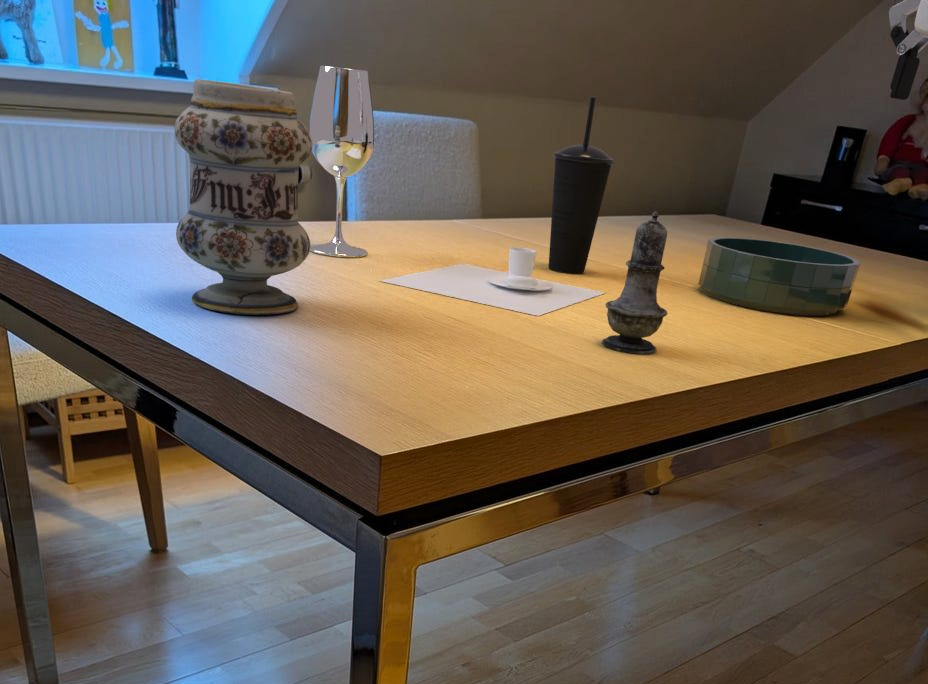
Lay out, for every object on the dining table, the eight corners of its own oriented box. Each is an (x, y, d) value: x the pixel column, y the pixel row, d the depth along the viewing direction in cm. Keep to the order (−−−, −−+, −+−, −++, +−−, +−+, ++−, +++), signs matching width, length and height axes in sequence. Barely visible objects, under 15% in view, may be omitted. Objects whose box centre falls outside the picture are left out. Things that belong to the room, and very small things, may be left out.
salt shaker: (586, 342, 87) (610, 205, 81) (620, 335, 91) (645, 204, 85) (638, 357, 84) (667, 216, 78) (670, 350, 88) (701, 215, 82)
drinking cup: (535, 271, 119) (560, 93, 108) (540, 262, 125) (563, 94, 115) (593, 278, 118) (624, 101, 108) (595, 269, 124) (624, 100, 114)
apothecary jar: (334, 313, 87) (342, 95, 78) (227, 324, 80) (220, 84, 70) (261, 286, 94) (259, 83, 85) (155, 294, 86) (141, 72, 77)
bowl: (815, 293, 126) (829, 247, 123) (866, 324, 110) (884, 271, 107) (683, 279, 125) (694, 232, 122) (716, 307, 109) (729, 254, 106)
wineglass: (376, 252, 119) (385, 73, 108) (357, 260, 112) (366, 70, 102) (319, 243, 120) (323, 65, 109) (297, 251, 113) (300, 63, 103)
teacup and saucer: (532, 298, 103) (537, 259, 101) (471, 285, 106) (475, 247, 104) (563, 289, 110) (568, 252, 107) (504, 276, 112) (508, 241, 110)
